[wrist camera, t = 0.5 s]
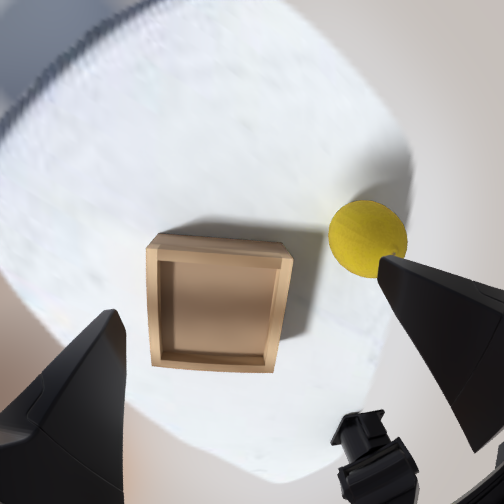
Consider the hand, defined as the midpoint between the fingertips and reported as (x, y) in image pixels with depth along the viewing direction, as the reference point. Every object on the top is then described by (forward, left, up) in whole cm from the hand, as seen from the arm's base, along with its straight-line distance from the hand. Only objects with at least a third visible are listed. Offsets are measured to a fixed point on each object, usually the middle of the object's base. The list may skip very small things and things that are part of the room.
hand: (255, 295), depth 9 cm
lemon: (0, -10, -15) cm, 18 cm away
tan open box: (-7, +1, -15) cm, 16 cm away
